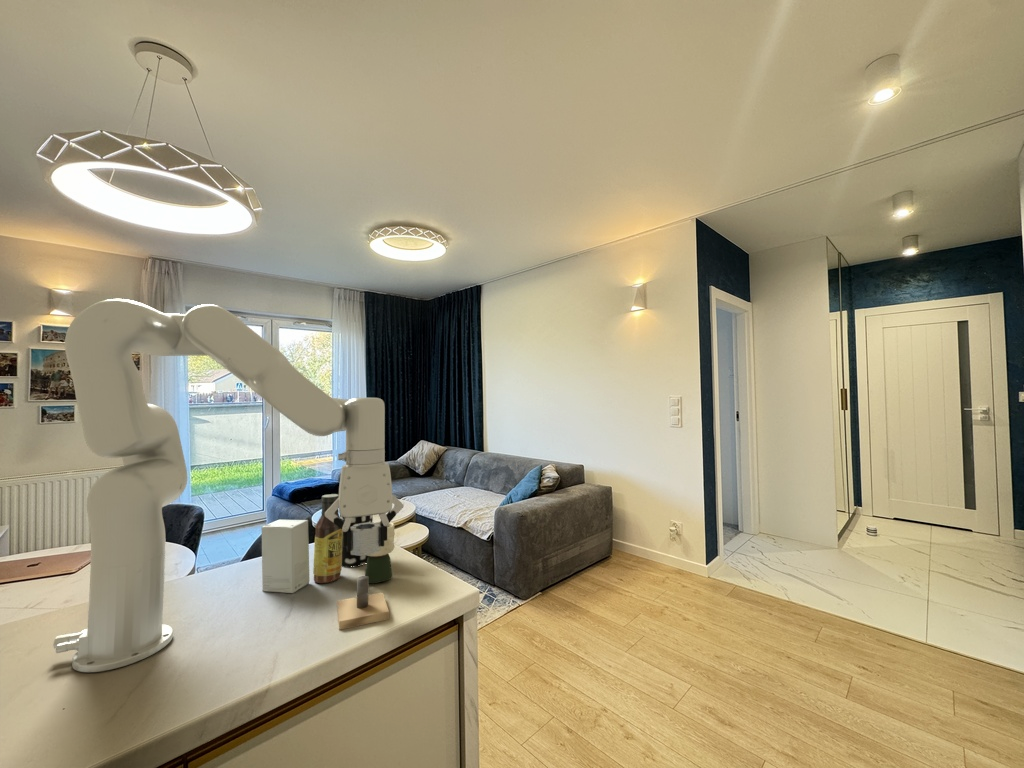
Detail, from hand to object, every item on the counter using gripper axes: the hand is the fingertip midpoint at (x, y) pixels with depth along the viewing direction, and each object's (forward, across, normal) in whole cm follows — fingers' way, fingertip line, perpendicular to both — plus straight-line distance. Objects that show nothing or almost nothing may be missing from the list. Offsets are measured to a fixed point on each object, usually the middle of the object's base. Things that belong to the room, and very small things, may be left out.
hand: (365, 546), depth 84 cm
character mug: (+14, +4, +15) cm, 21 cm away
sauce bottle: (+13, -7, +21) cm, 26 cm away
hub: (+1, 0, 0) cm, 1 cm away
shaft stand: (+13, -1, 0) cm, 13 cm away
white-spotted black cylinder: (+14, 0, +30) cm, 33 cm away
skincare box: (+13, -16, +20) cm, 29 cm away
